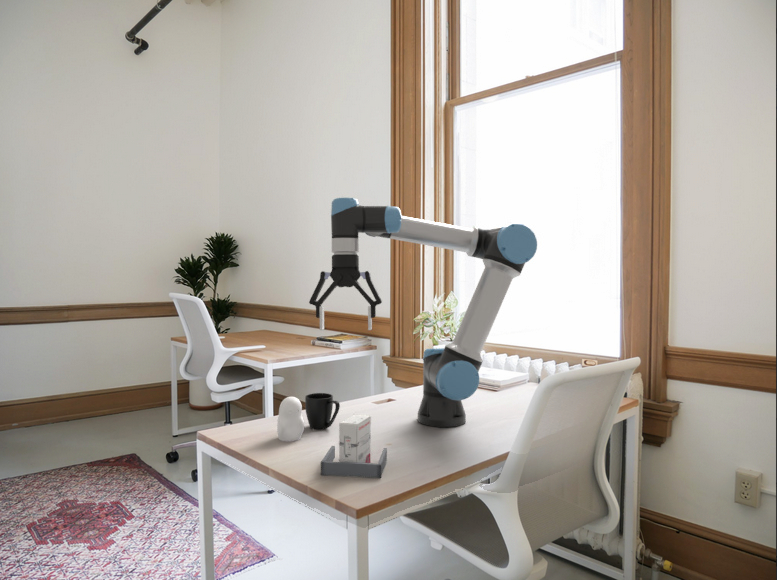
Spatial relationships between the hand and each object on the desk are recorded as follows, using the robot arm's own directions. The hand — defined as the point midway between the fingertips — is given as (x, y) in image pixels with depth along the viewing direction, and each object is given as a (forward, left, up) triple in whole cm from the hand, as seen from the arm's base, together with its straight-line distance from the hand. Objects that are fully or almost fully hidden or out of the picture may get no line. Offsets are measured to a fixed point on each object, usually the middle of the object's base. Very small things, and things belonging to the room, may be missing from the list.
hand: (345, 329), depth 154 cm
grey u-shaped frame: (-7, +23, -31) cm, 39 cm away
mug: (+8, -8, -31) cm, 33 cm away
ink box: (-7, +23, -31) cm, 39 cm away
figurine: (+15, +3, -31) cm, 35 cm away
